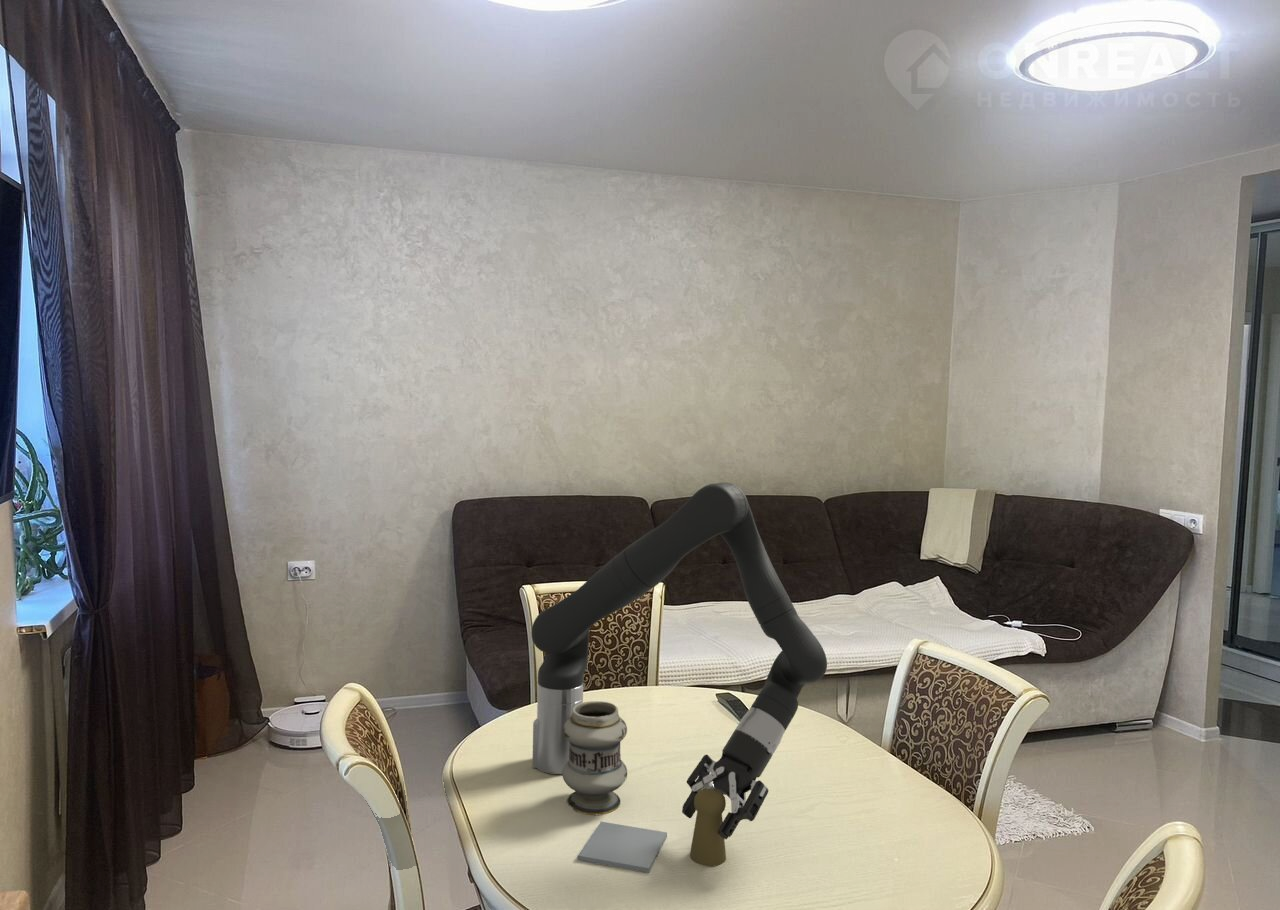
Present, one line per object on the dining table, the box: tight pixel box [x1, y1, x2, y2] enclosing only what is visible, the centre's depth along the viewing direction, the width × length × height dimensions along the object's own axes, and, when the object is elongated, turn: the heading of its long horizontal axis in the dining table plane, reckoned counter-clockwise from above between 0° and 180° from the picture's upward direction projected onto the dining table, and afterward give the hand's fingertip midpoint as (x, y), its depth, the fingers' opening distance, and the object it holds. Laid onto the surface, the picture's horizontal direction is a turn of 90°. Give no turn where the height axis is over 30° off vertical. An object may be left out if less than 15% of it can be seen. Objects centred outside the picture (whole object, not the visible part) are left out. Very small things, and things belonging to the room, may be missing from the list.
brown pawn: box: [689, 789, 727, 867], centre depth 144 cm, size 6×6×11 cm
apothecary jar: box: [561, 700, 628, 816], centre depth 162 cm, size 12×12×18 cm
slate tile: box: [577, 821, 668, 874], centre depth 147 cm, size 12×12×1 cm
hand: (703, 825), depth 143 cm, fingers open, 8 cm apart
